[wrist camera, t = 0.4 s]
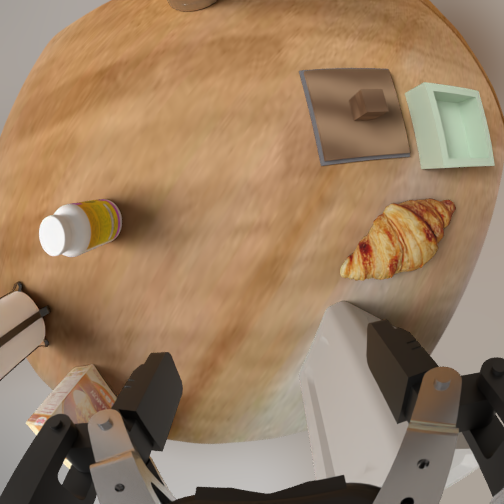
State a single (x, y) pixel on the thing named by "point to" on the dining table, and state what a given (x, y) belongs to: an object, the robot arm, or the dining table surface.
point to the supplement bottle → (80, 227)
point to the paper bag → (354, 406)
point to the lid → (356, 113)
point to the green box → (449, 126)
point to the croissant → (399, 240)
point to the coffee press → (19, 329)
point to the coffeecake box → (75, 399)
